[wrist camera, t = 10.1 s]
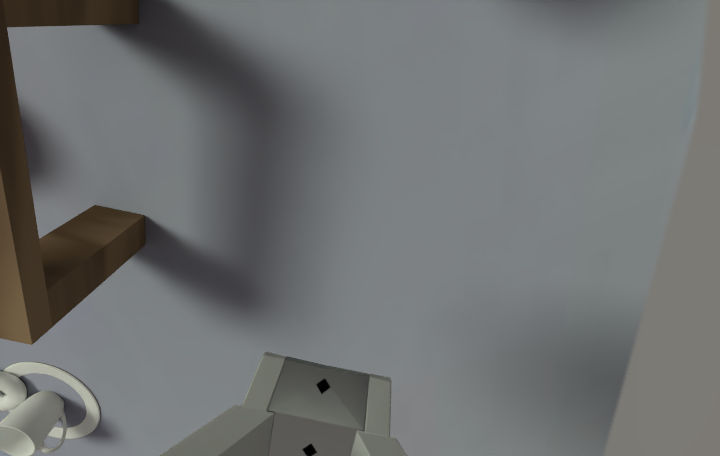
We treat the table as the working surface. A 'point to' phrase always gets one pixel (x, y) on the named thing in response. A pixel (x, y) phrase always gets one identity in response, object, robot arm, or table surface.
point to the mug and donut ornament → (39, 411)
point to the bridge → (16, 208)
